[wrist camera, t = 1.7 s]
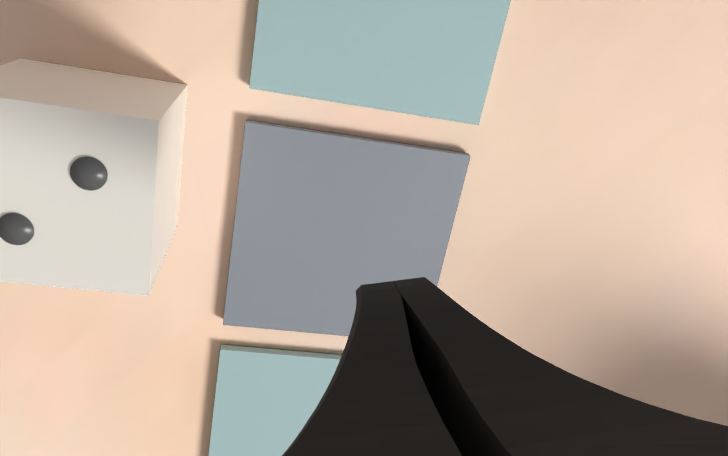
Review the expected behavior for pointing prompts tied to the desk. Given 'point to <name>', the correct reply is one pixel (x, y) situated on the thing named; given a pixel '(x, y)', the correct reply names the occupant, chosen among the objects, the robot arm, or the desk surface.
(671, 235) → the desk surface
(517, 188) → the desk surface
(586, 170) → the desk surface
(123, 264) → the die
